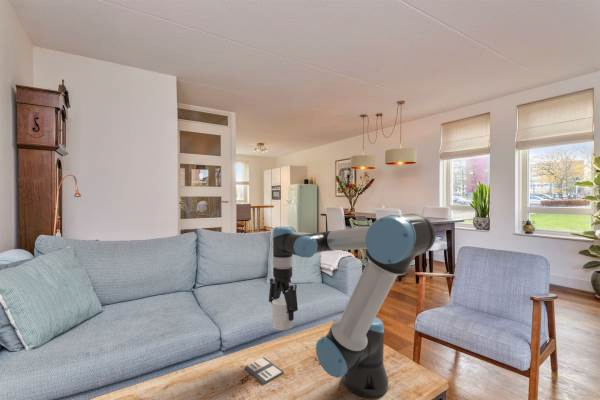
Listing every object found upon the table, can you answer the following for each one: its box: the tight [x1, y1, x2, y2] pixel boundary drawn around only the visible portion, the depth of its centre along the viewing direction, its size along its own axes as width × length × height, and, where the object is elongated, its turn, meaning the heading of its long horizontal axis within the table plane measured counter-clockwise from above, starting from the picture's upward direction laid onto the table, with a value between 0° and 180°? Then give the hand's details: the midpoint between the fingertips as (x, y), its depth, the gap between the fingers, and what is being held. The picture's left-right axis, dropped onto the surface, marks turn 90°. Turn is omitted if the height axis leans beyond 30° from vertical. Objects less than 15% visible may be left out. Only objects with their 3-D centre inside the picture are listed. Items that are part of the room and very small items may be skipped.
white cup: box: [271, 297, 291, 331], centre depth 112 cm, size 8×8×10 cm
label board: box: [244, 357, 285, 386], centre depth 105 cm, size 12×9×1 cm
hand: (282, 324), depth 112 cm, fingers closed on white cup, 7 cm apart
